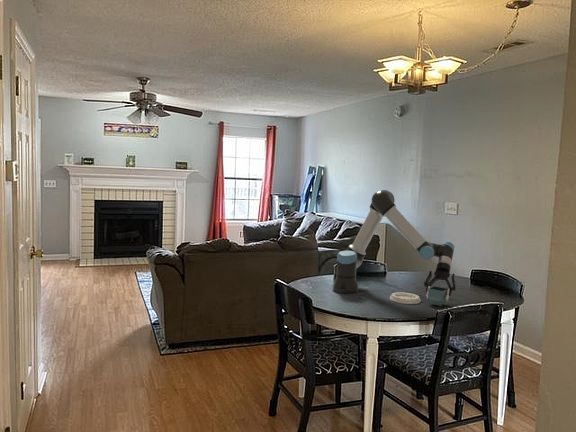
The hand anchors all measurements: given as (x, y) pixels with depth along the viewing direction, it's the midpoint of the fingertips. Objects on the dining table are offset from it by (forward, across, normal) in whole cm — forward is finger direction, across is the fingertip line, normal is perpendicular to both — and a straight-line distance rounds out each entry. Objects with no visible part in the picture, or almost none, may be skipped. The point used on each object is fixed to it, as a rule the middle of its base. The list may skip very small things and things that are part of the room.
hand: (437, 298), depth 269 cm
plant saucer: (+1, +18, -4) cm, 18 cm away
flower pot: (+1, 0, -5) cm, 5 cm away
